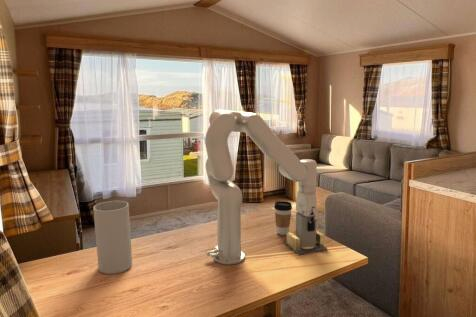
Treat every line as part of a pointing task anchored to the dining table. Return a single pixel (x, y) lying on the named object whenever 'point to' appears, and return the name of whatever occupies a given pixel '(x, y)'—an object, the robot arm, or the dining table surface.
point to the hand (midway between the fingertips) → (306, 227)
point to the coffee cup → (282, 216)
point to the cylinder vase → (113, 236)
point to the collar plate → (294, 245)
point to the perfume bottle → (305, 231)
